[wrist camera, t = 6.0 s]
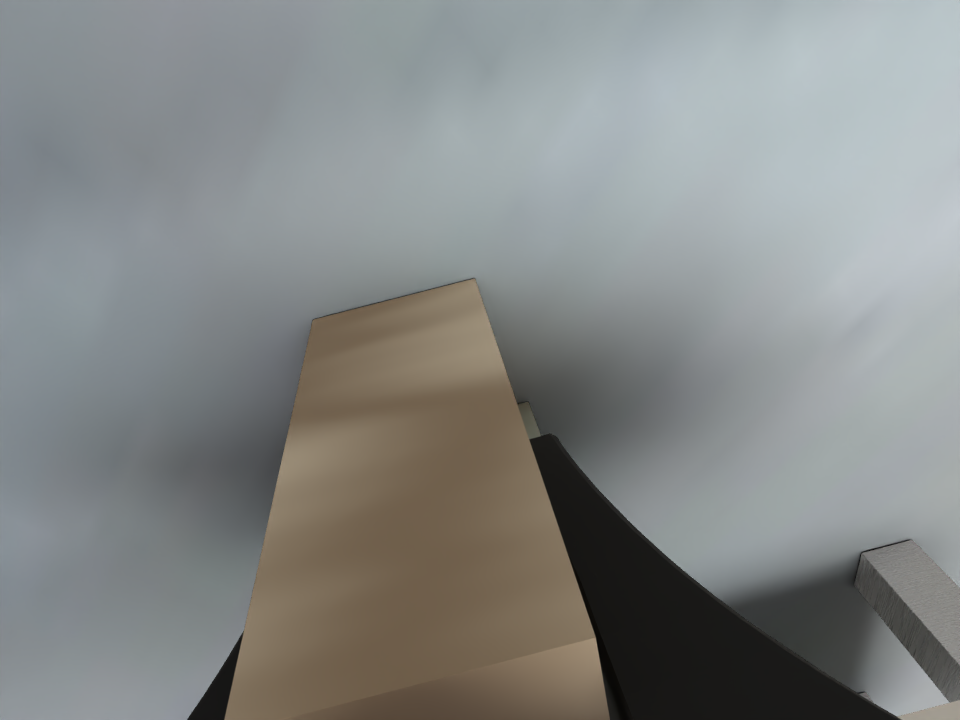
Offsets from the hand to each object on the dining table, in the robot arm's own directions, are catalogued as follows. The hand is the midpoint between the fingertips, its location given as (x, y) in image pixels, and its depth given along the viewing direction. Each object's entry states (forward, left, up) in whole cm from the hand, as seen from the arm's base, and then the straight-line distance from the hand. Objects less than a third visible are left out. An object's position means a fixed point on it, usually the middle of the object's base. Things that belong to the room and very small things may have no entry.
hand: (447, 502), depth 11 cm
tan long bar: (0, -7, -2) cm, 7 cm away
